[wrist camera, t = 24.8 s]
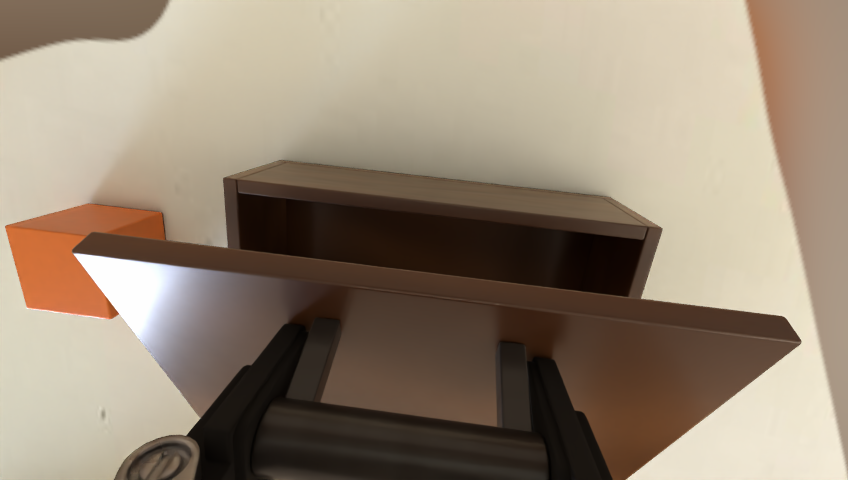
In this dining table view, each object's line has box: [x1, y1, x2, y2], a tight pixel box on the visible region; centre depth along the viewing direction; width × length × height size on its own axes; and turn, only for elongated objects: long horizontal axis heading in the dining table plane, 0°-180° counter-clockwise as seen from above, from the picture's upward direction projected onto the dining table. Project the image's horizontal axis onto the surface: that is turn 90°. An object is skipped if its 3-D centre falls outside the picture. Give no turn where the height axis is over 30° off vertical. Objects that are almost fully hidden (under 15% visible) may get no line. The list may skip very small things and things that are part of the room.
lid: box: [72, 232, 801, 480], centre depth 14 cm, size 16×18×5 cm
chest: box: [223, 160, 662, 299], centre depth 21 cm, size 15×18×6 cm
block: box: [5, 204, 165, 319], centre depth 22 cm, size 5×5×5 cm
